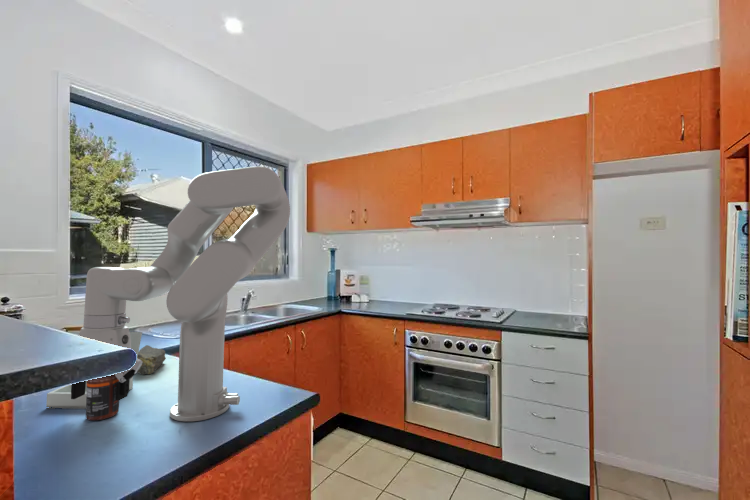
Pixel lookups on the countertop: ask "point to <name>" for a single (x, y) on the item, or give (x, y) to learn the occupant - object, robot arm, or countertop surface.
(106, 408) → the supplement bottle
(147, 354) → the rock
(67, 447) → the countertop surface
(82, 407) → the white open box
